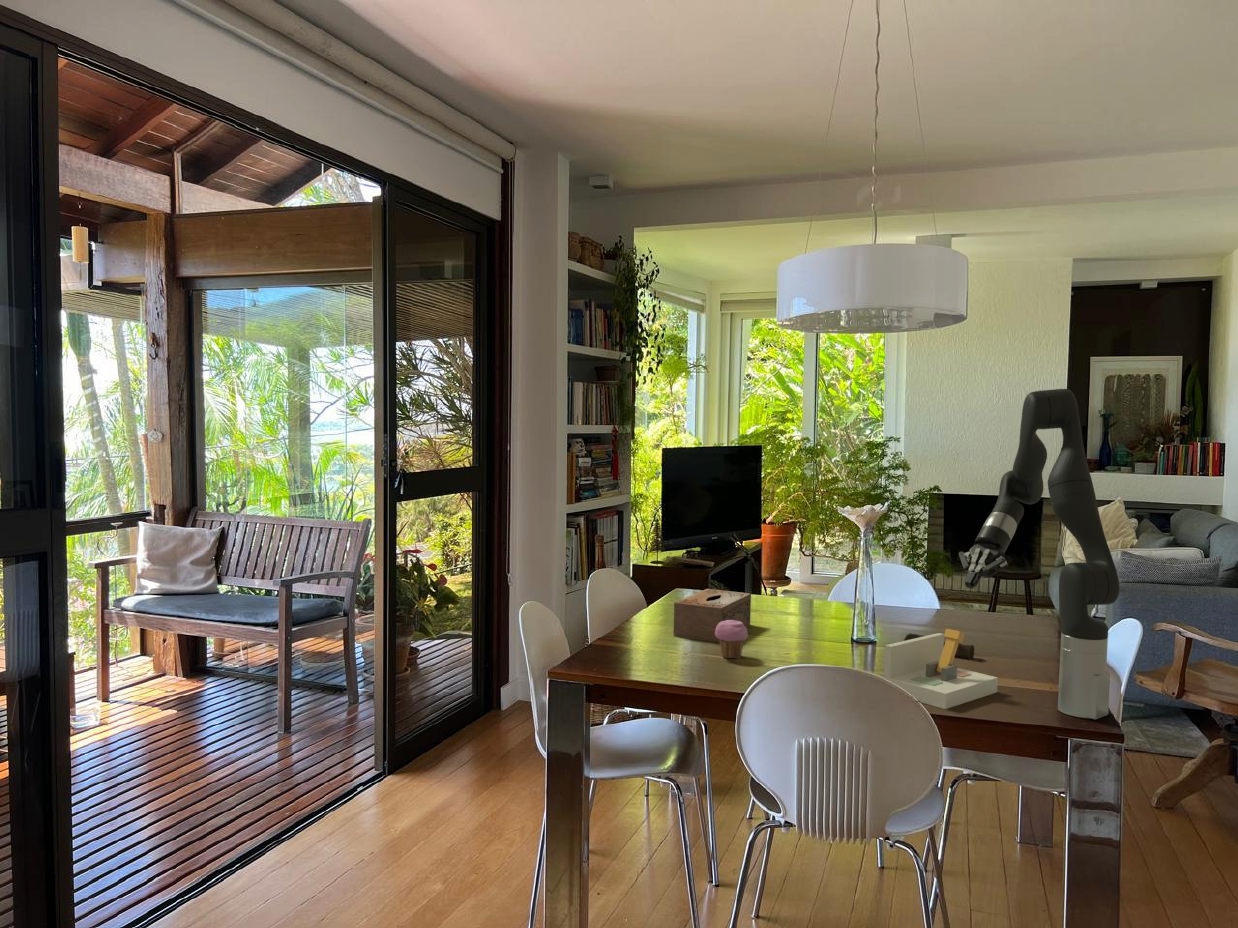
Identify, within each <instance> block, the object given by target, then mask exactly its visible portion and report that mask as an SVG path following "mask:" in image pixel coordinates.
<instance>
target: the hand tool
mask: <svg viewBox="0 0 1238 928" xmlns="http://www.w3.org/2000/svg"><path fill="white" fill-rule="evenodd" d="M923 636H924V635H920V634H916V633H911V632H910V633H908V634H906V635H905V637H904V639H903V641H906V640H910V639H915V638H919V637H923ZM945 642H946V641H944V645H945ZM974 656H975V646H974V644H970V645H968V644H967V645H966V644H961V643H959V644H958V647H957V650H956V654H955V657H960V658H964V659H965V658H967V659H968V660H969V661H971V660H973V659H974Z"/></svg>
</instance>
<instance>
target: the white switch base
mask: <svg viewBox="0 0 1238 928" xmlns="http://www.w3.org/2000/svg"><path fill="white" fill-rule="evenodd" d="M944 634H945V633H940V632H938V633H933V634H929V635H928V634H927V635H922V636H923V637H919V638H915V639H910V640H906V641H904V640H903V641H898V642H894V643H890V644H885V646H884V650H885V651H884V670H883V671H884V675H883V679H884V678H886V679H887V680H889V681H891V682H893V683H895V684H897V685H899V686H901V687H902V688H904V689H905V690H906V691H908V692H909V693H911V694H912V695H913V696H914V697H915V698H916V699H918V700H919V701H920V702H919V703H922V704H925V705H926V704H927V705H929V706H933V707H936V708H940V709H943V710H947V709H950V708H953V707H956V706H959V705H962V704H965V703H969V702H972V701H974V700H977V699H981V698H984V697H987V696H990V695H993V694H995V693H998V680H999V679H998V678H999V677H996V676H993V675H989V674H985V673H980V672H977V671H974V670H973V671H972V670H969V669H964V668H960V667H958V665H957V664H952V665H950V666H946V667H942V668H941V673H938V672H937V671H936V670H937V667H938V664H939V661H940V658H941V654H942V651H943V648H944V642H945V637H944Z"/></svg>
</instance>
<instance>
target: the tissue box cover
mask: <svg viewBox="0 0 1238 928" xmlns="http://www.w3.org/2000/svg"><path fill="white" fill-rule="evenodd" d="M751 600H752V593H749V592H748V593H747V592H740V591H739V592H738V591H729V590H721V589H714V588H713V589H712V588H706V589H704V590H701V591H698V592H696V593H694V594H692V595H690V596H687V597H684V598H682V599H680V600H677V601H675V602H673V637H680V638H686V639H693V640H700V641H706V642H708V641H709V642H714V643H720V641H719V639H718V638H717V637H716V636H715V630H716V627H717V625H718V624H719V623H720V622H722V621H726V620H735V621H740V622H742V623H743V625H744V626H745V627H746V628H747V627H749V626H751V606H752V601H751Z"/></svg>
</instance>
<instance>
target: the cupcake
mask: <svg viewBox="0 0 1238 928" xmlns="http://www.w3.org/2000/svg"><path fill="white" fill-rule="evenodd" d="M715 636H716V637H717V638H718V639H719V641H720V642H719V648H720V653H721V655H722V657H723V658H726V659H740V658H741V657H742V652H743V647H744V644H745V641H746V640H747V638H748V637H749V633H748V629H747V627H745V626H744V625H743V623H742V622H740V621H735V620H726V621H722V622H720V623H719V624H718V625H717V627H716V630H715Z"/></svg>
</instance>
